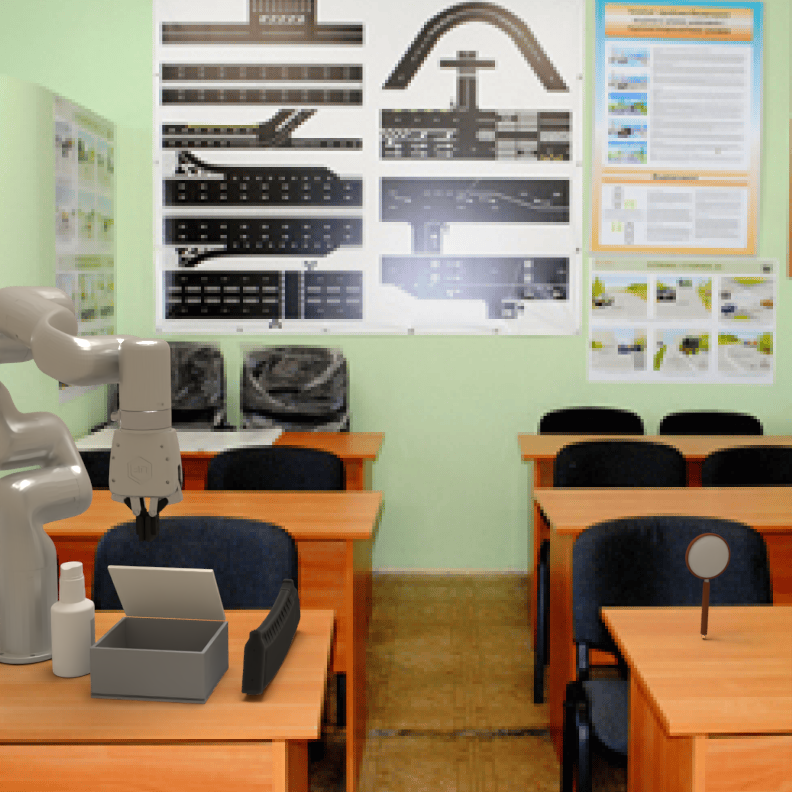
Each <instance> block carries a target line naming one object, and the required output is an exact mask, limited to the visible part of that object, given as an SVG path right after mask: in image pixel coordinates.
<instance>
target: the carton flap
mask: <svg viewBox="0 0 792 792" xmlns="http://www.w3.org/2000/svg"><path fill="white" fill-rule="evenodd" d="M107 570H108V573H109V575H110V577H111V581H112V583H113V586H114V588H115V591H116V593H117V596H118V599H119V601H120V604H121V605H122V606H121V607H122V609H123V611H124V614H125V617H140V618H162V619H185V620H208V621H227V620H226V619H227V617H226V613H225V610H224V605H223V602H222V598H221V595H220V590H219V587H218V584H217V580H216V576H215V572H214V569H211V568H210V569H209V568H208V569H207V568H205V569H204V568H185V567H184V568H182V567H180V568H179V567H155V566H133V565H132V566H130V565H108V566H107Z"/></svg>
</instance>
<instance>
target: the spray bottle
mask: <svg viewBox="0 0 792 792" xmlns="http://www.w3.org/2000/svg"><path fill="white" fill-rule="evenodd" d="M83 571H84V569H83V563H82V562H81V561H68V562H63V563H61V564H60V576H59V580H58V582H59V591H58V594H59V595H58V599H59V600H58V601H57V602H56V603H54V604H53V605H52V607H51V635H52V658H51V662H52V663H51V664H52V672H53V674H54V675H55V676H56V677H60V678H77V677H83V676H85V675H88V674H90V647H92V646H93V645H94V644H95V643H96V620H95V619H96V616H95V615H96V614H95V603H94V601H93V600H91V599H89V598H87V597H86V588H85V575H84V573H83Z"/></svg>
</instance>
